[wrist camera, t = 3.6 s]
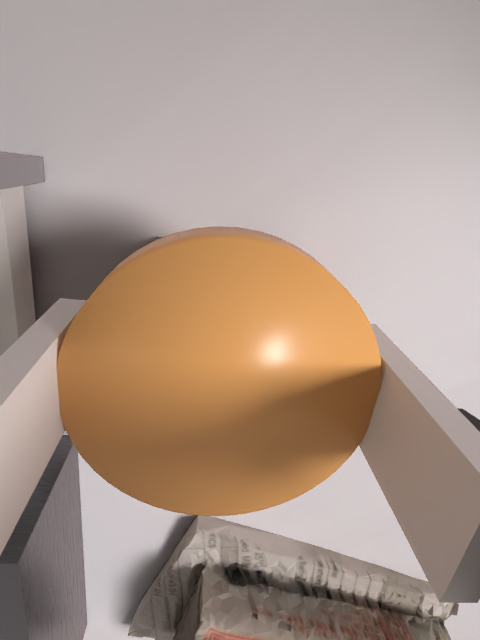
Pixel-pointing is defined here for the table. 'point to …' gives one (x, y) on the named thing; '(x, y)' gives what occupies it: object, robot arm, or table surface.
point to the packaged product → (281, 592)
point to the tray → (16, 246)
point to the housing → (46, 558)
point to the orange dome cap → (218, 373)
